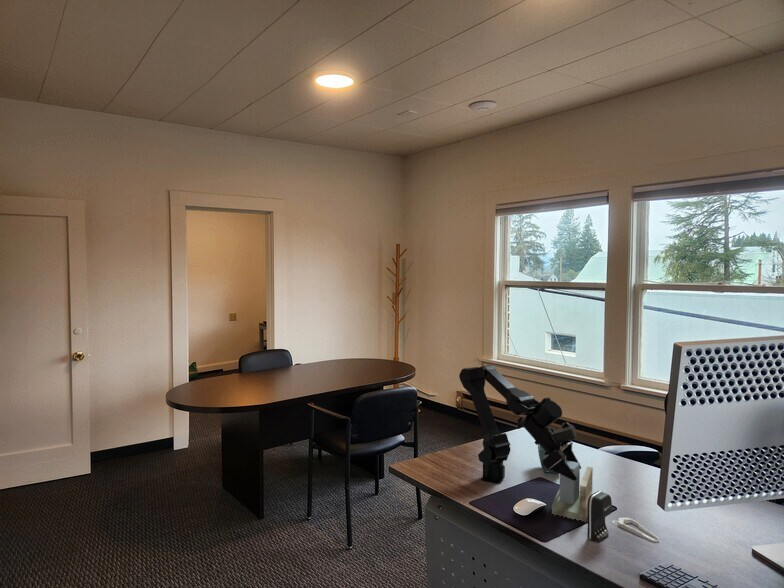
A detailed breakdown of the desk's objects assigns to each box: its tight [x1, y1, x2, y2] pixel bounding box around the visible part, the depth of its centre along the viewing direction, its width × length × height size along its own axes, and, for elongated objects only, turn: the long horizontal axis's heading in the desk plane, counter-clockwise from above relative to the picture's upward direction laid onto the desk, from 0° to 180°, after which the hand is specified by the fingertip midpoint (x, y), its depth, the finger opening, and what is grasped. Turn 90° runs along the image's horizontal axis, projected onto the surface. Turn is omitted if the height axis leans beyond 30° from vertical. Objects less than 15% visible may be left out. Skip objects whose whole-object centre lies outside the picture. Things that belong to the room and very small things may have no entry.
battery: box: [587, 490, 613, 542], centre depth 132 cm, size 7×4×11 cm, turn 131°
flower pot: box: [537, 444, 558, 474], centre depth 178 cm, size 9×9×9 cm
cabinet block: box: [559, 460, 581, 505], centre depth 150 cm, size 5×6×10 cm
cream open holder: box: [551, 466, 594, 523], centre depth 149 cm, size 9×16×10 cm, turn 152°
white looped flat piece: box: [611, 517, 660, 543], centre depth 136 cm, size 13×5×2 cm, turn 32°
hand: (578, 474), depth 149 cm, fingers open, 9 cm apart
